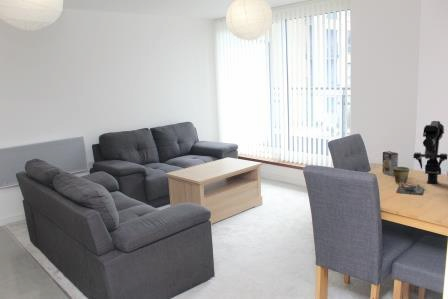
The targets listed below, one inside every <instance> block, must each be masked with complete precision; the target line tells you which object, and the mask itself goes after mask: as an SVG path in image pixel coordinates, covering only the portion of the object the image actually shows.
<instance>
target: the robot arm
mask: <svg viewBox="0 0 448 299" xmlns="http://www.w3.org/2000/svg"><path fill="white" fill-rule="evenodd" d="M444 134H445V126H444V124H442V123H441V121H439V120H433V121H431V123H429V124H426V125H425V126H424V127H423V133H422V137H423V138H424V140H423V142H422V145H423V147H424V153H423V154H422V152H414V154H413V159H415V160H417V161H418V163H419V166H420V169H421V170H422V169H423V160H422V158H425V159H427V160H426V164H425V166H424V172H425V174H426V175H427V181H426V184H432V185H433V184H434V185H438V184H439V180H438V177H439V175H442V167H441V164H442V163H443V162H444V161H445V160H448V153H440V154H439V148H440V141H441V139H442V138H443V135H444Z"/></svg>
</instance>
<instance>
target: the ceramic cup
mask: <svg viewBox="0 0 448 299" xmlns="http://www.w3.org/2000/svg"><path fill="white" fill-rule="evenodd" d="M393 171H394V175H393V176H394V182H395V183H396V184H399V185H400V183H403V178H406V183H408V182H407V181H408V177H409V173H410V168H409V167H407V166H398V167H394V168H393Z"/></svg>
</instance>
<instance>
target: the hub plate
mask: <svg viewBox="0 0 448 299" xmlns="http://www.w3.org/2000/svg"><path fill="white" fill-rule="evenodd" d="M395 192H396V193H398V194H405V195H407V194H409V195H419V196H421V195H422V194H423V192H424V187H423V186H422V184H420V183H418V184H417V185H416V188H415V189H407V188H404V185H403V183H400V184H399V186H398V187H397V189H396V191H395Z"/></svg>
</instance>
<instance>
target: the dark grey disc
mask: <svg viewBox="0 0 448 299" xmlns="http://www.w3.org/2000/svg"><path fill="white" fill-rule="evenodd" d="M403 186H404V188H407V189H415V188H416V187H417V185H415V184H412V183H408V182H407V183H406V178H403Z"/></svg>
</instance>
